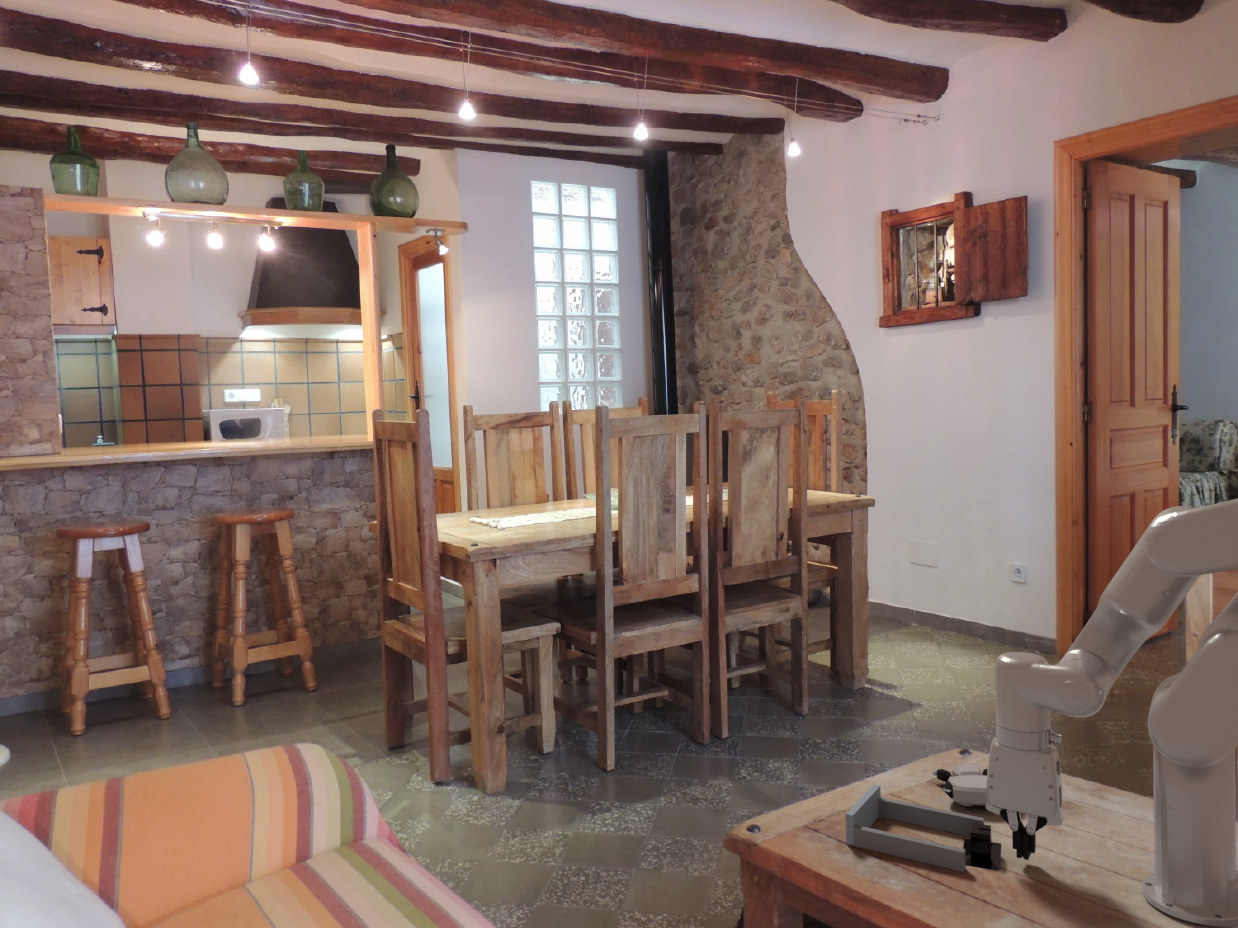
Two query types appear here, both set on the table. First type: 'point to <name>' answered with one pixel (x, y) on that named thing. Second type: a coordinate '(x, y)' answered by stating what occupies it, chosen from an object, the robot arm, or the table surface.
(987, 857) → the black bracket part
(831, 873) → the table surface
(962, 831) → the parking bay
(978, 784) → the robot toy
